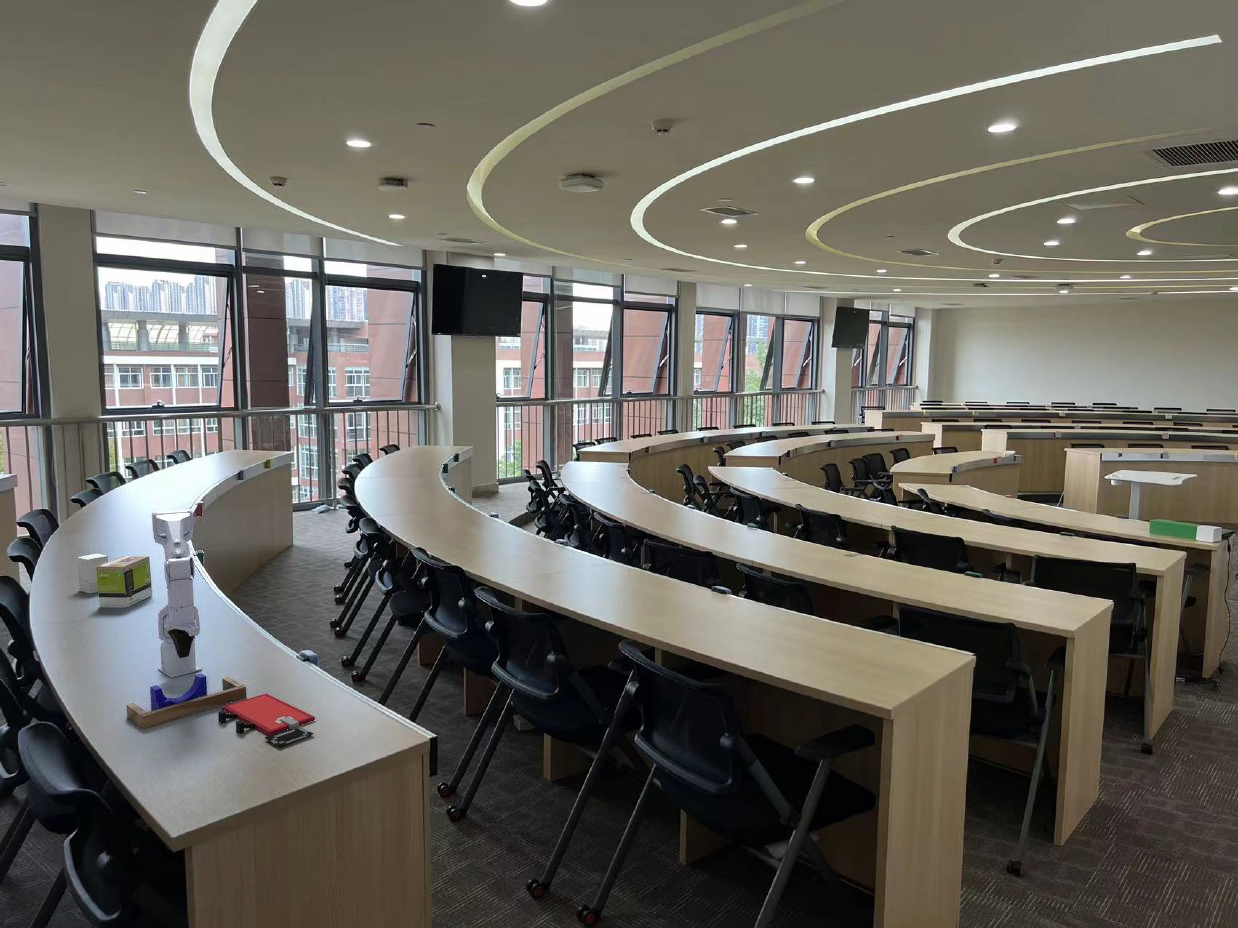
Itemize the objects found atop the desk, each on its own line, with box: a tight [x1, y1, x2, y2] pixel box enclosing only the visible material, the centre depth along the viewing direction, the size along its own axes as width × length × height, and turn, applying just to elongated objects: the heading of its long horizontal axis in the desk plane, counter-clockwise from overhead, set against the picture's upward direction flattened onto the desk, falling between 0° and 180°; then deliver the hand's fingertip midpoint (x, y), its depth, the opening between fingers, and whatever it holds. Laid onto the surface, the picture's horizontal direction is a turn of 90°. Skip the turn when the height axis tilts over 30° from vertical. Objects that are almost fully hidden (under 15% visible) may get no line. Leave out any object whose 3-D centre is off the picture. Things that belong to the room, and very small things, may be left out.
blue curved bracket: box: [149, 672, 208, 711], centre depth 204 cm, size 12×4×6 cm, turn 140°
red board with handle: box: [217, 693, 316, 747], centre depth 195 cm, size 30×3×15 cm
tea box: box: [96, 555, 153, 609], centre depth 289 cm, size 15×10×15 cm, turn 178°
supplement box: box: [76, 553, 109, 594], centre depth 303 cm, size 7×7×13 cm
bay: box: [126, 676, 248, 730], centre depth 203 cm, size 10×24×3 cm, turn 140°
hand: (183, 656), depth 211 cm, fingers closed
